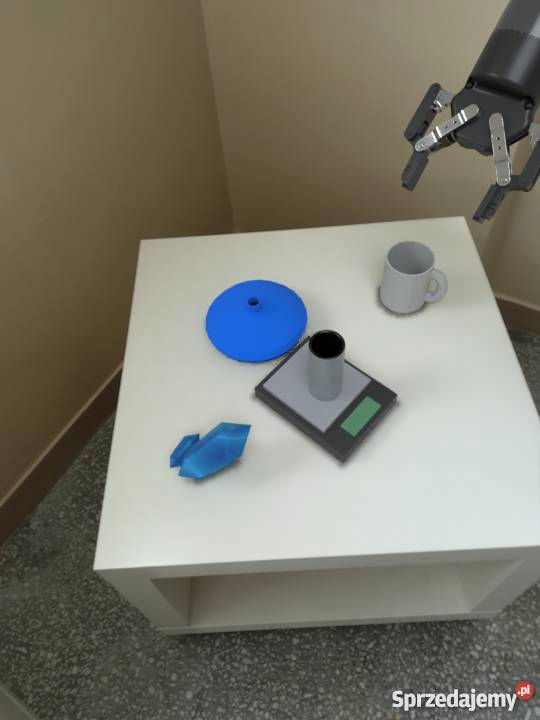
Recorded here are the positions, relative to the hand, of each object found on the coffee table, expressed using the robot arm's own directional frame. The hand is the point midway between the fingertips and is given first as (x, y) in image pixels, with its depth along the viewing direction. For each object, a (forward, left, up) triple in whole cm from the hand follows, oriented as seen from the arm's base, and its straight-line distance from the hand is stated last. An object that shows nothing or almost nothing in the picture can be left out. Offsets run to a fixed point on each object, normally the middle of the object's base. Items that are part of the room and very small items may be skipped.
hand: (440, 205), depth 56 cm
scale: (+4, +14, -28) cm, 31 cm away
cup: (+5, -9, -28) cm, 30 cm away
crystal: (+9, +31, -28) cm, 43 cm away
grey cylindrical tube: (+4, +14, -25) cm, 29 cm away
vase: (+20, +11, -28) cm, 36 cm away
